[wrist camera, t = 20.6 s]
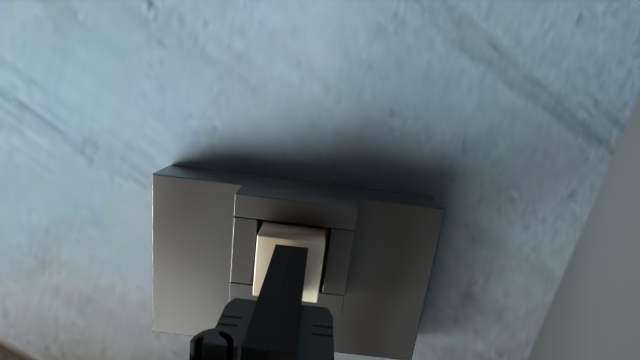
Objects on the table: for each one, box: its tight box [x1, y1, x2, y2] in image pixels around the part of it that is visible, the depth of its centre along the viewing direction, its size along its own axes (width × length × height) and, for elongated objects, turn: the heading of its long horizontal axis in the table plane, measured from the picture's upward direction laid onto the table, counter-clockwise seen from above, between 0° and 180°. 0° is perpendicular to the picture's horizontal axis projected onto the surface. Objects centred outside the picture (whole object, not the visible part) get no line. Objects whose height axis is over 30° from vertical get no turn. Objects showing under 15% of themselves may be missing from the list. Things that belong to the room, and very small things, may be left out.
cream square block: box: [252, 222, 325, 303], centre depth 17 cm, size 3×3×2 cm
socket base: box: [152, 166, 445, 360], centre depth 20 cm, size 16×10×4 cm, turn 83°
